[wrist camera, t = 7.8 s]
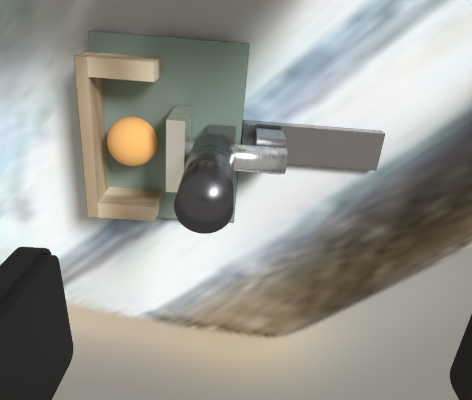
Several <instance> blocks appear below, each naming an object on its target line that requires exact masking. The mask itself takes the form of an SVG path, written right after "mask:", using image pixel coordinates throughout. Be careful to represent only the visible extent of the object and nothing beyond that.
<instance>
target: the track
mask: <svg viewBox="0 0 472 400" xmlns="http://www.w3.org/2000/svg"><path fill="white" fill-rule="evenodd" d="M256 128H262V129H275V130H283V132H284V135H285V138H286V145H285V148H287V164H295V165H308V166H322V167H335V168H348V169H362V170H375V171H376V170H377V166H378V162H379V157H380V153H381V149H382V145H383V141H384V137H385V133H384V132H382V131H376V130H364V129H351V128H338V127H325V126H313V125H300V124H287V123H274V122H262V121H249V120H244V121H243V132H242V143H241V145H254V142H255V132H256Z"/></svg>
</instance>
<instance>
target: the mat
mask: <svg viewBox="0 0 472 400" xmlns="http://www.w3.org/2000/svg"><path fill="white" fill-rule="evenodd" d="M88 35H89V49H90V52H102V53H114V54H126V55H138V56H150V57H162V76H160V77H159V78H158V79H157V80H156V81H155V82H146V81H134V80H122V79H109V78H103V90H104V107H105V124H106V141H107V136H108V133H109V130H110V128H111V127H112V125H113V124H114V123H115V122H117V121H118V120H120V119H122V118H125V117H138V118H141V119H143V120H145V121H147V122H148V123H149V124H150V125H151V126H152V127H153V129H154V131H155V133H156V135H157V149H156V152H155V154H154V155H153V157H152V158H151V159H150V160H149V161H148V162H146V163H144V164H142V165H138V166H128V165H124V164H122V163H120V162H119V161H117V160H116V159H115V158H114V157H113V156H112V155H111V153H110V151H109V149H108V145H107V158H108V174H109V187H117V188H131V189H145V190H159V191H162V205H161V207H160V210H159V213H158V215H157V218H167V219H178V218H177V217H176V214H175V210H174V201H175V197H176V194H177V193H175V192H166V119H167V118H168V116H169V115H170V113H171V111H172V110H173V108H174V107H175V105H176V106H188V107H192V116H191V141H196V140H197V139H199V138H200V137H202V136H204V135H207V130H208V126H209V124H210V125H223V126H236V138H235V144H240V145H241V134H242V123H243V111H244V100H245V88H246V77H247V65H248V54H249V44H245V43H234V42H222V41H210V40H198V39H186V38H175V37H163V36H151V35H139V34H128V33H116V32H104V31H88ZM237 180H238V171H234V208H233V215H232V217H231V219H230V221H229V222H228V223H234V214H235V203H236V191H237Z"/></svg>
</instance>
